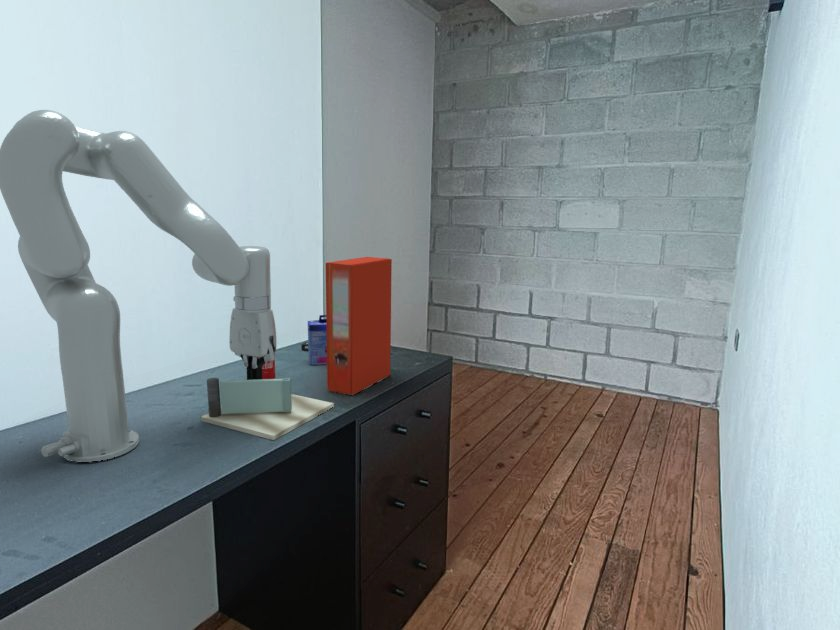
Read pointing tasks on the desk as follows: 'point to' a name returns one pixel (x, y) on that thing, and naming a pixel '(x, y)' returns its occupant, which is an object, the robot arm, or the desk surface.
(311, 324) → the ink cartridge box
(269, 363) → the beverage can
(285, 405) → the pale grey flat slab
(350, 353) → the file binder
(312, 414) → the gate base
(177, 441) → the desk surface
